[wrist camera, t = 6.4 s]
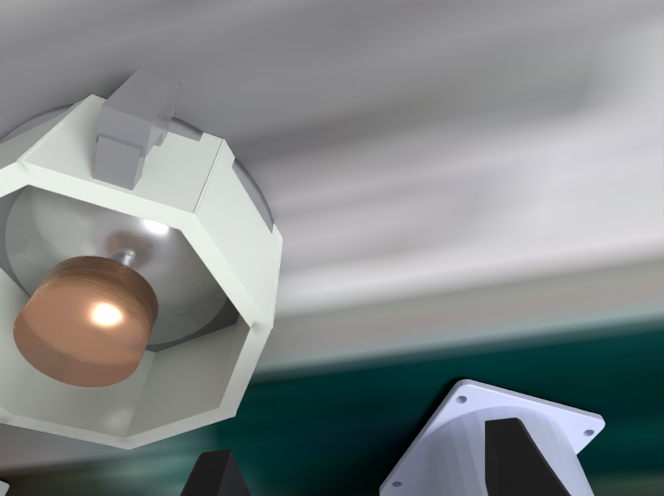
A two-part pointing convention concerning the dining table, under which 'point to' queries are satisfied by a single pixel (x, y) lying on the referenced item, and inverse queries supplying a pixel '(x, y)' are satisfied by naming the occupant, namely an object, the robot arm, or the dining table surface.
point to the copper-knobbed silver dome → (101, 287)
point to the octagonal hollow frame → (161, 207)
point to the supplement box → (3, 488)
